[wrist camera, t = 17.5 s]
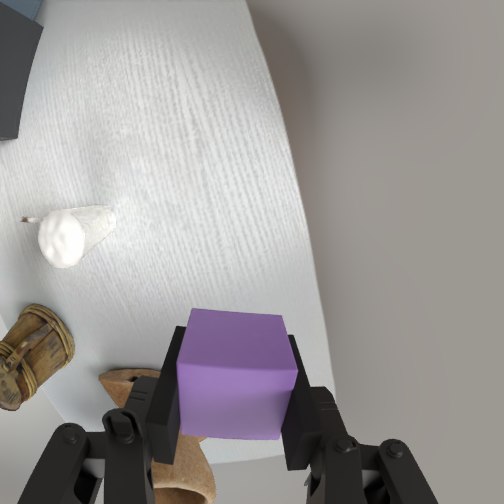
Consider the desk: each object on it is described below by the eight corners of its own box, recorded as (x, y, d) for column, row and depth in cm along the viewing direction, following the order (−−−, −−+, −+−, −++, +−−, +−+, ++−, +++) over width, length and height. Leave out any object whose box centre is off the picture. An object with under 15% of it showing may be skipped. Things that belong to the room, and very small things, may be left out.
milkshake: (94, 183, 25) (33, 193, 15) (131, 217, 26) (81, 243, 16) (71, 218, 26) (11, 241, 16) (106, 252, 27) (55, 289, 17)
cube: (191, 307, 14) (175, 362, 10) (282, 314, 14) (299, 370, 10) (191, 375, 15) (180, 435, 11) (269, 381, 16) (279, 440, 11)
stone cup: (230, 430, 34) (232, 523, 20) (156, 440, 35) (138, 521, 20) (185, 349, 30) (160, 459, 16) (101, 365, 31) (53, 453, 16)
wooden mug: (104, 323, 29) (24, 438, 12) (59, 373, 31) (0, 463, 14) (51, 267, 27) (-59, 345, 10) (16, 328, 29) (-58, 402, 11)
